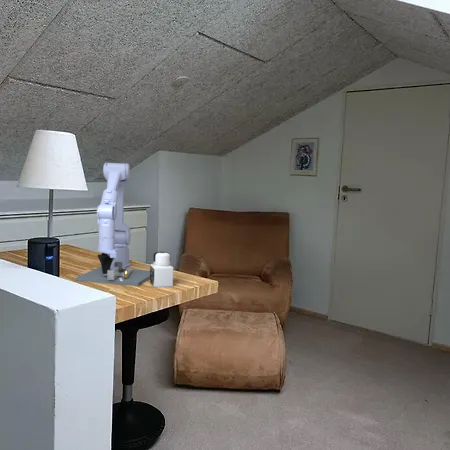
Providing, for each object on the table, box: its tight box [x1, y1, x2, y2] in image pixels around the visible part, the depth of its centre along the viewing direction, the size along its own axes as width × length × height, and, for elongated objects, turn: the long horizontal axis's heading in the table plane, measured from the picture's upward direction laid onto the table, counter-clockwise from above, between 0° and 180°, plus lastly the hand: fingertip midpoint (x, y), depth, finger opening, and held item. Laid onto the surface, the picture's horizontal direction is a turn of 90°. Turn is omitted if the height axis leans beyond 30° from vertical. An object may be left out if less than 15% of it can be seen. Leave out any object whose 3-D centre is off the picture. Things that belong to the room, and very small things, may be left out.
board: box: [75, 262, 150, 287], centre depth 172 cm, size 20×24×6 cm
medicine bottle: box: [149, 251, 174, 288], centre depth 164 cm, size 7×7×12 cm
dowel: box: [124, 270, 129, 279], centre depth 166 cm, size 2×2×3 cm
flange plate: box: [103, 267, 134, 280], centre depth 169 cm, size 15×9×4 cm, turn 179°
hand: (106, 273), depth 165 cm, fingers closed, pressing on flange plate
